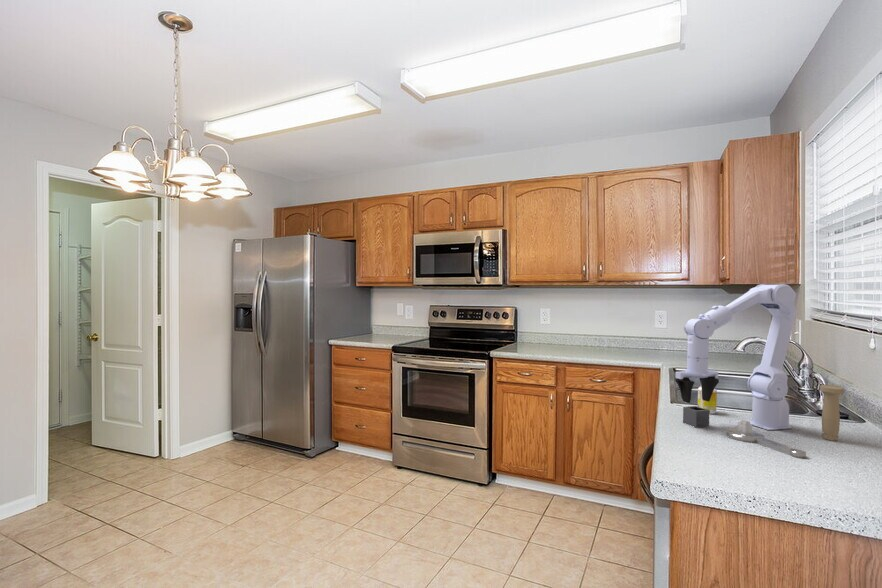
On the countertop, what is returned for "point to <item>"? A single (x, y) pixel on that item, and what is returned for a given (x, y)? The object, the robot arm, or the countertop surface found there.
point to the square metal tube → (696, 416)
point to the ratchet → (761, 439)
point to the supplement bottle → (708, 404)
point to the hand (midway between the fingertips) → (696, 401)
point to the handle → (831, 411)
